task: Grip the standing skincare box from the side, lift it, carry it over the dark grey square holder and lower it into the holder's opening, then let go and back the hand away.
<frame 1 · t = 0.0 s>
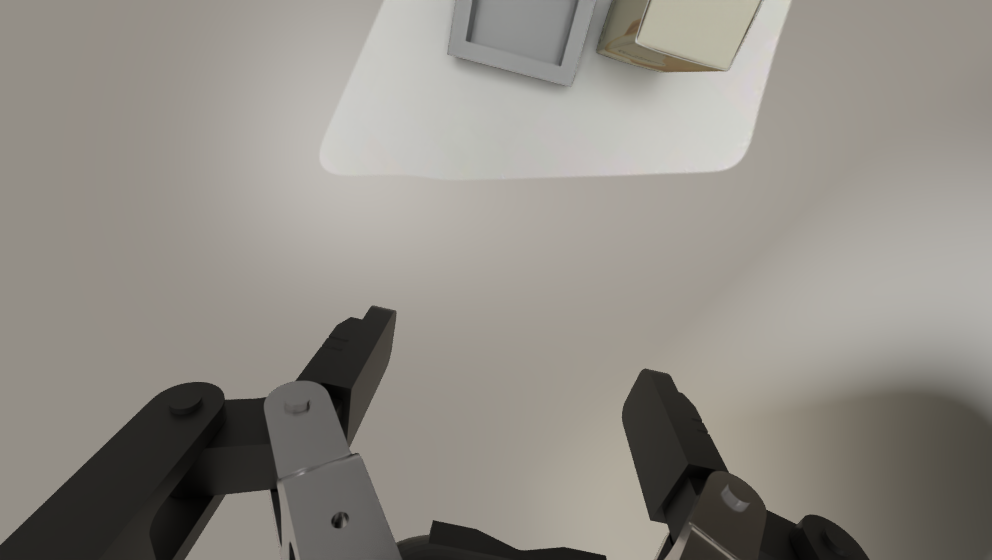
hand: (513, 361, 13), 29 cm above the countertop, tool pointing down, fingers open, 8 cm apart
skincare box: (640, 35, 34), on the countertop
holder: (526, 4, 33), on the countertop
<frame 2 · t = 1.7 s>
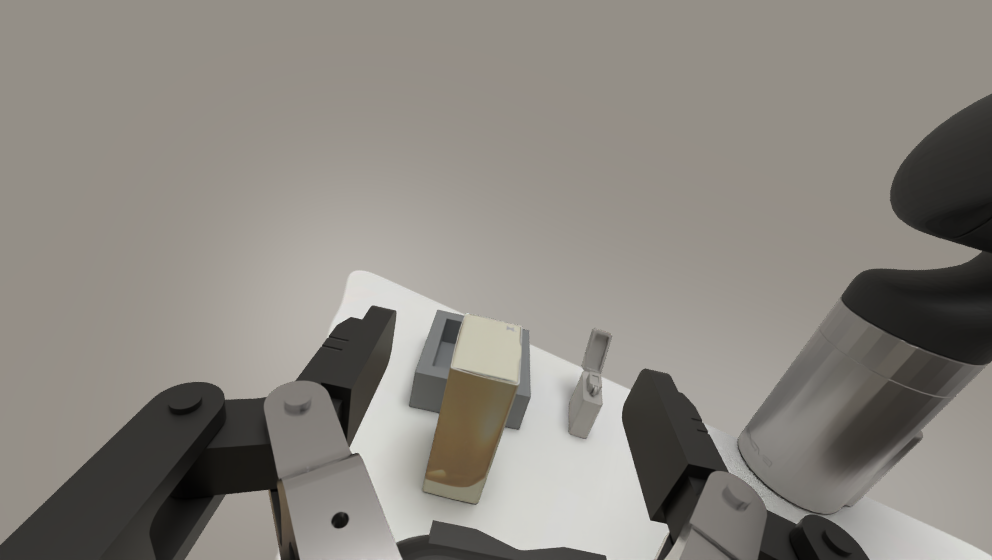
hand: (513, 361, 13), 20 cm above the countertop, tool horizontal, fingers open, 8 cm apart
skincare box: (456, 466, 32), on the countertop
lighter: (576, 410, 40), on the countertop
holder: (470, 379, 40), on the countertop
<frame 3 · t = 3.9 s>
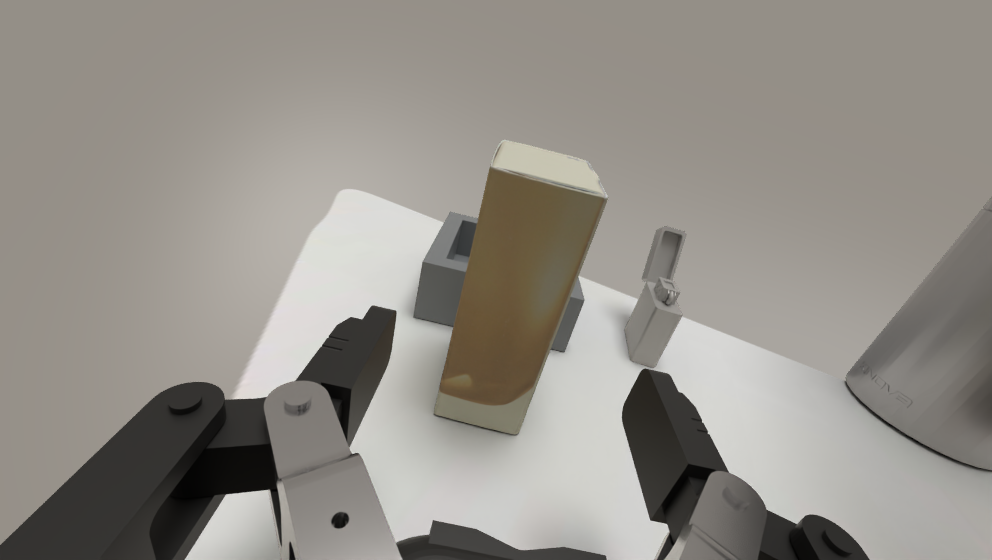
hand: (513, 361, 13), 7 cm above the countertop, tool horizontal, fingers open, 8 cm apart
skincare box: (481, 388, 22), on the countertop
lighter: (635, 338, 30), on the countertop
holder: (494, 297, 31), on the countertop
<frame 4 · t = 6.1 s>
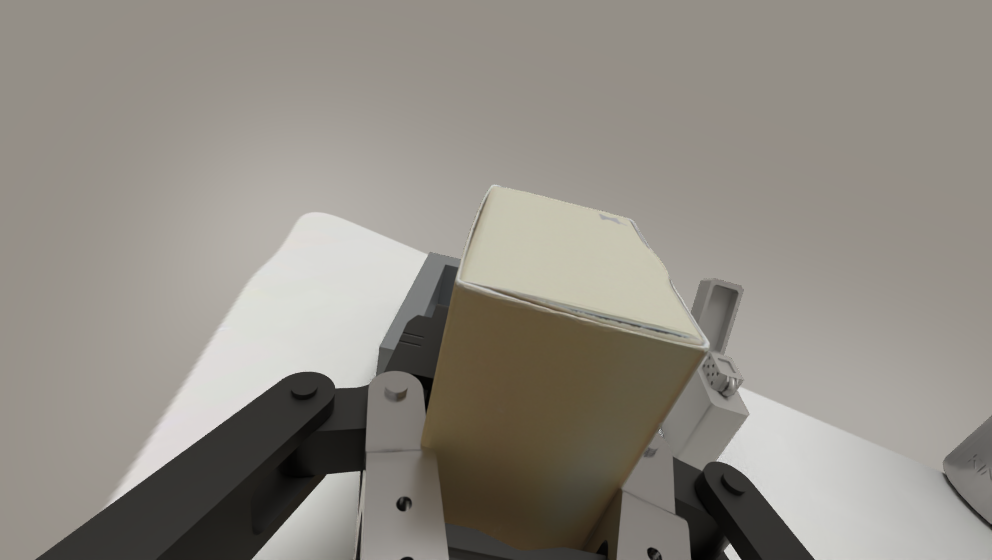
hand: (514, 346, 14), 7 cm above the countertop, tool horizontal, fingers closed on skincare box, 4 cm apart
skincare box: (463, 549, 15), on the countertop, touching gripper
lighter: (672, 423, 23), on the countertop
holder: (486, 368, 23), on the countertop
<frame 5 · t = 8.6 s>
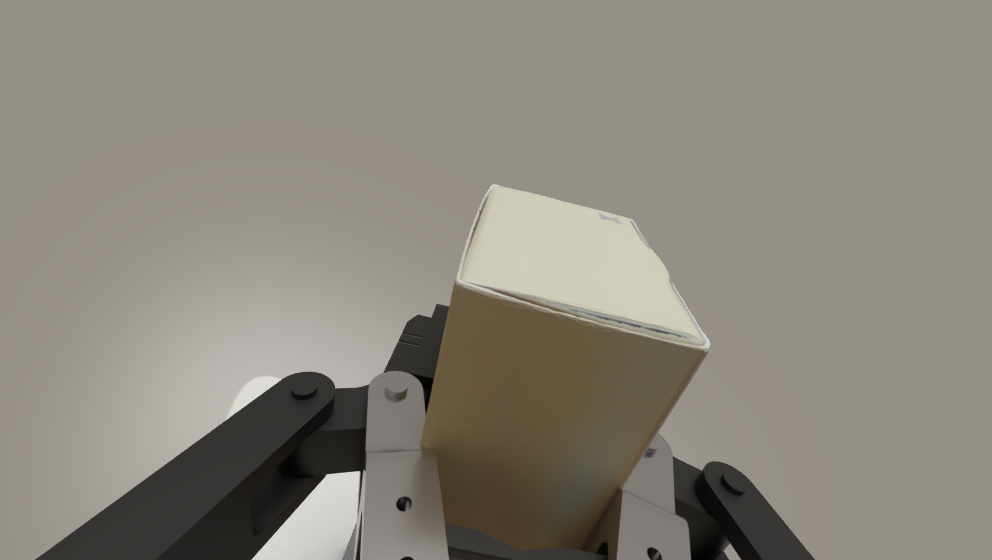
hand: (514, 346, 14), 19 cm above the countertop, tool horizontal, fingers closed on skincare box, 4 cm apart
skincare box: (463, 549, 15), point 11 cm above the countertop, touching gripper
when the fingers open (9 cm above the countertop, at t = 11.1 s): skincare box drops 1 cm, resting on holder.
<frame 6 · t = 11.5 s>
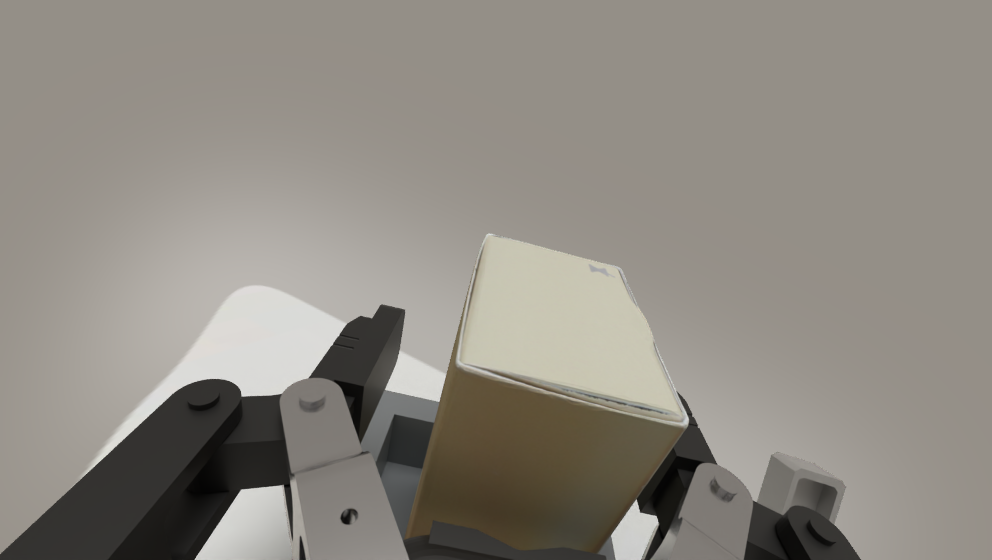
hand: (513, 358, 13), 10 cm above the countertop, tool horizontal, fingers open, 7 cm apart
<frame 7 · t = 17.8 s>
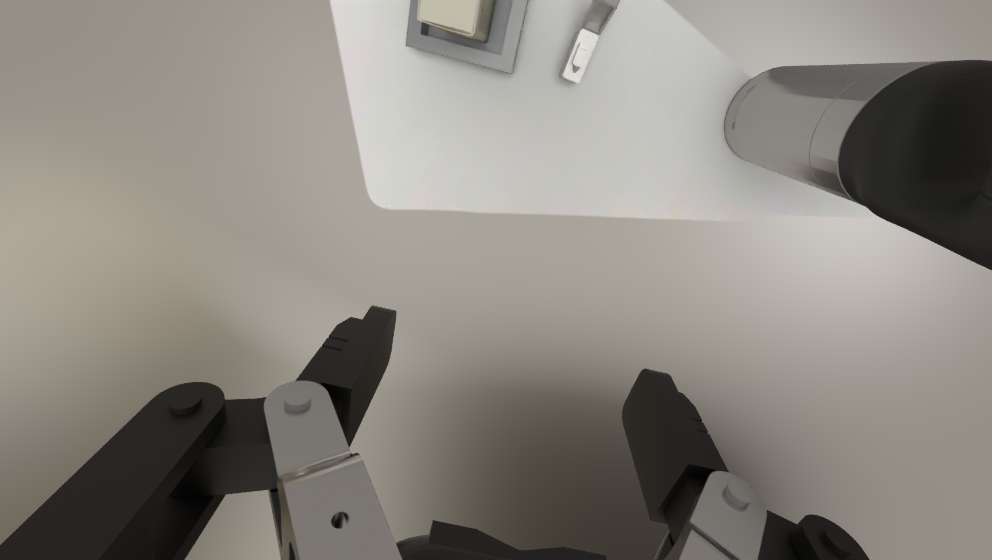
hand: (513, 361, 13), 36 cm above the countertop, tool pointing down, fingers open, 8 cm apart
skincare box: (472, 3, 38), point 1 cm above the countertop, touching holder
lighter: (581, 42, 40), on the countertop
holder: (474, 3, 39), on the countertop
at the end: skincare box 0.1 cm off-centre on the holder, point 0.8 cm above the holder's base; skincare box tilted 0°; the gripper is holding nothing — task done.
